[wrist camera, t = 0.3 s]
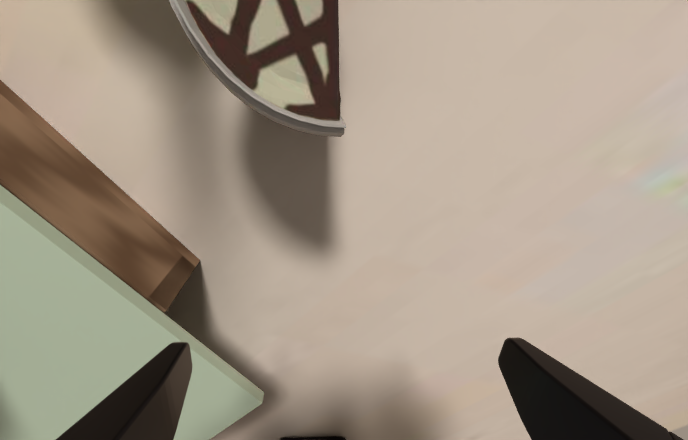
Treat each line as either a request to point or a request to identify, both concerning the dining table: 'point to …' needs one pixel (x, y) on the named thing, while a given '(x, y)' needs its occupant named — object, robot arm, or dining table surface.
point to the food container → (272, 56)
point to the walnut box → (88, 205)
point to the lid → (88, 338)
